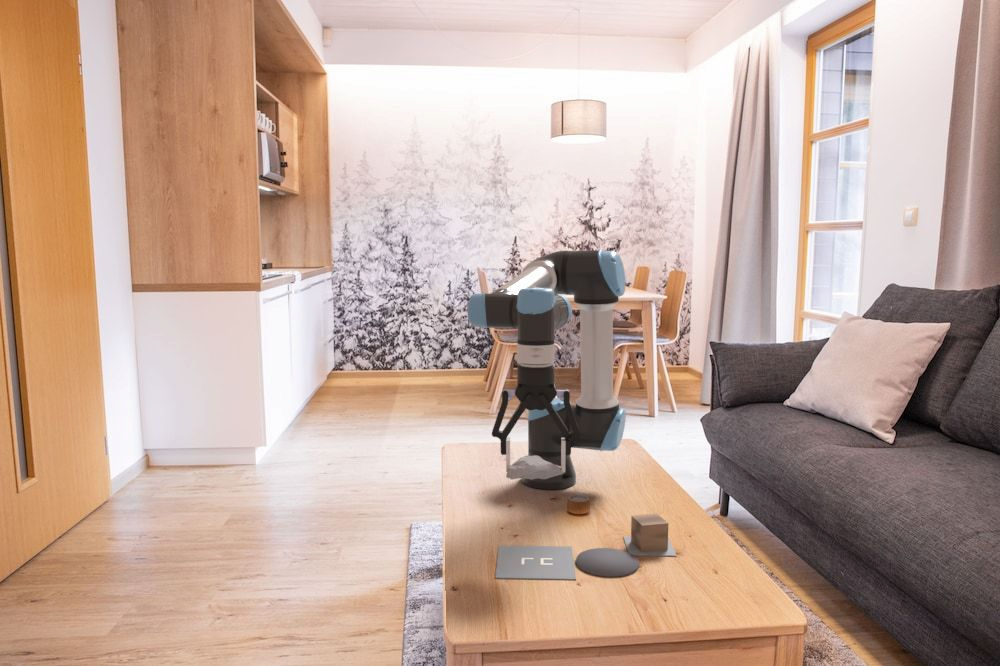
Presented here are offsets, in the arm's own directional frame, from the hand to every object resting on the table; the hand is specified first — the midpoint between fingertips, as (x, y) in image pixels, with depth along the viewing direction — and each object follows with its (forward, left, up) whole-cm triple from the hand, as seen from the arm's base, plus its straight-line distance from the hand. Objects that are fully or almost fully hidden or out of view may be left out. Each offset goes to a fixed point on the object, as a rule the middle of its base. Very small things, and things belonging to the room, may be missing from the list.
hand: (535, 470), depth 152 cm
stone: (0, 0, -1) cm, 1 cm away
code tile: (0, 0, -20) cm, 20 cm away
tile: (-9, +25, -20) cm, 33 cm away
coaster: (0, +15, -20) cm, 25 cm away
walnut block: (-9, +25, -20) cm, 33 cm away
